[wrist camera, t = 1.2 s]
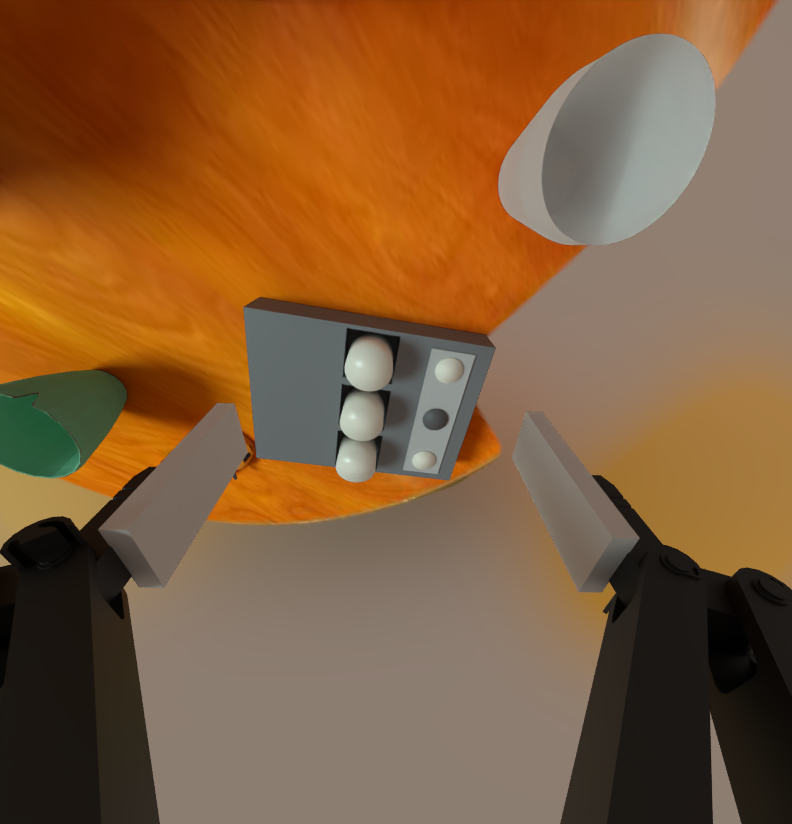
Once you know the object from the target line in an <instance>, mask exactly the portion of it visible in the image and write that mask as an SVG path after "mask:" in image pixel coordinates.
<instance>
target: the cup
mask: <svg viewBox="0 0 792 824" xmlns="http://www.w3.org/2000/svg"><path fill="white" fill-rule="evenodd" d="M715 109H716V94H715V85H714V79H713V76H712V72H711V70H710V67H709V65H708V63H707V61H706V59H705V57H704V56H703V54H702V53H701V52H700V51H699V50H698V49H697V48H696V47H695V46H694V45H693V44H692V43H690V42H689V41H687V40H685V39H683V38H681V37H678V36H675V35H670V34H649V35H645V36H640V37H638V38H635V39H632V40H629V41H627V42H625V43H623V44H621V45H619V46H618V47H616V48H615V49H613V50H611V51H610V52H608V53H607V54H605V55H604V56H602V57H601V58H599V59H598V60H596V61H594V62H592V63H590V64H588V65H586V66H585V67H583V68H581V69H580V70H578V71H577V72H576V73H574V74H573V75H572V76H570V77H569V78H568V79H567V80H566V81H565V82H564V83H563V84H562V85H561V86H560V87H559V88H558V89H557V90H556V91H555V92H554V93H553V94H552V95H551V97H550V98H549V99H548V100H547V101H546V103H545V104H544V105H543V106H542V108H541V109H540V110H539V112H538V113H537V114H536V115H535V117H534V118H533V119H532V121H531V122H530V123H529V124H528V126H527V127H526V128H525V130H524V131H523V132H522V133H521V135H520V136H519V137H518V139H517V140H516V141H515V142H514V144H513V145H512V146H511V148H510V149H509V151H508V152H507V154H506V156H505V158H504V160H503V163H502V166H501V169H500V173H499V180H498V190H499V197H500V200H501V203H502V205H503V207H504V209H505V210H506V212H507V213H508V214H509V215H510V216H511V217H513V218H514V219H516V220H517V221H519V222H521V223H522V224H524V225H525V226H527V227H529V228H530V229H532V230H534V231H535V232H537V233H538V234H540V235H542V236H543V237H545V238H547V239H549V240H551V241H554V242H556V243H560V244H565V245H607V244H612V243H616V242H620V241H622V240H625V239H628V238H630V237H632V236H634V235H636V234H638V233H639V232H641V231H643V230H644V229H646V228H647V227H649V226H650V225H651V224H653V223H654V222H655V221H657V220H658V219H659V218H660V217H661V216H662V215H663V214H664V213H665V212H666V211H667V210H668V209H669V208H670V207H671V206H672V205H673V204H674V203H675V202H676V200H677V199H678V198H679V197H680V196H681V194H682V193H683V192H684V190H685V189H686V187H687V186H688V185H689V183H690V181H691V180H692V178H693V177H694V175H695V173H696V171H697V169H698V167H699V165H700V163H701V161H702V159H703V157H704V154H705V152H706V149H707V146H708V143H709V140H710V137H711V133H712V129H713V124H714V118H715Z"/></svg>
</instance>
